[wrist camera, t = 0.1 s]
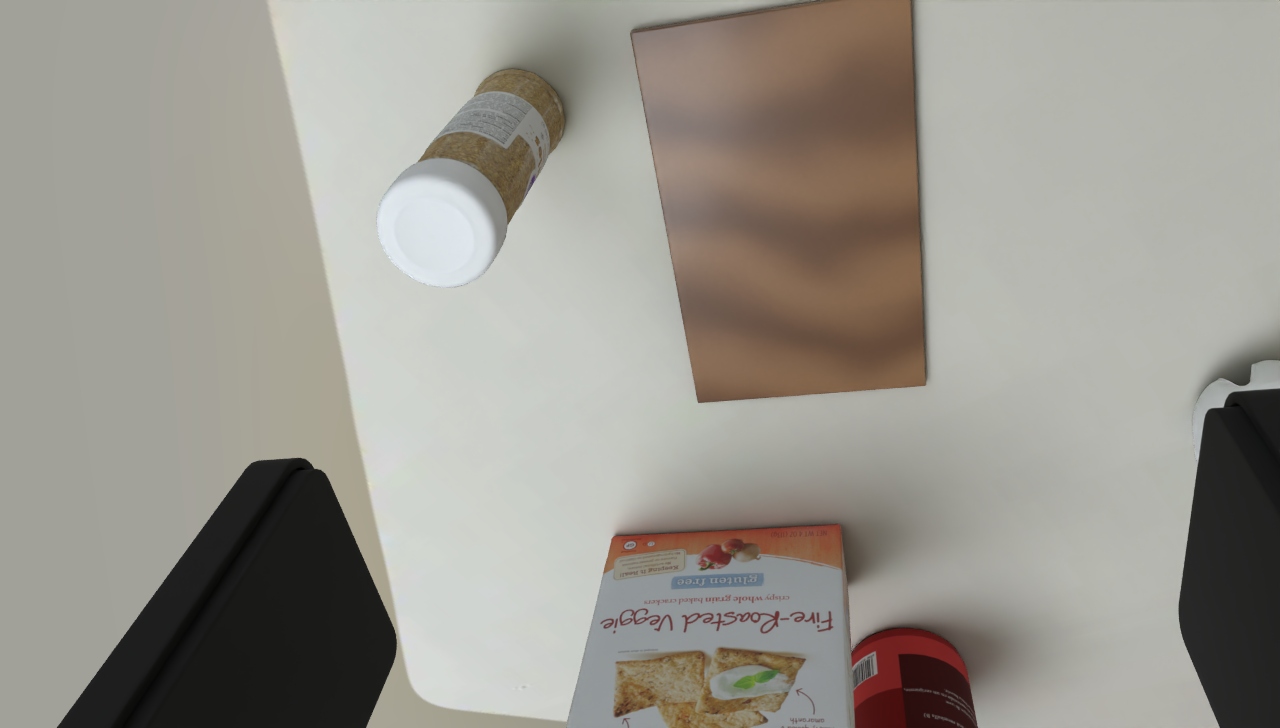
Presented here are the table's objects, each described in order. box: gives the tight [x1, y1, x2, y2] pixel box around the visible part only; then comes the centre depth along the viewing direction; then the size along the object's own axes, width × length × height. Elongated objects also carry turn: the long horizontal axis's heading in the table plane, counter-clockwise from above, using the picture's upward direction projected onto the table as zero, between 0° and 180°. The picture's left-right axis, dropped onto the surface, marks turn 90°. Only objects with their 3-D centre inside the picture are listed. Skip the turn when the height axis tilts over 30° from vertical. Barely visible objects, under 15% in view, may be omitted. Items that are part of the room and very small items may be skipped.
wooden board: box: [630, 0, 926, 403], centre depth 48 cm, size 20×12×1 cm, turn 11°
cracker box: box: [566, 524, 855, 728], centre depth 52 cm, size 14×6×21 cm, turn 101°
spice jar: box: [376, 69, 565, 288], centre depth 42 cm, size 5×5×14 cm
